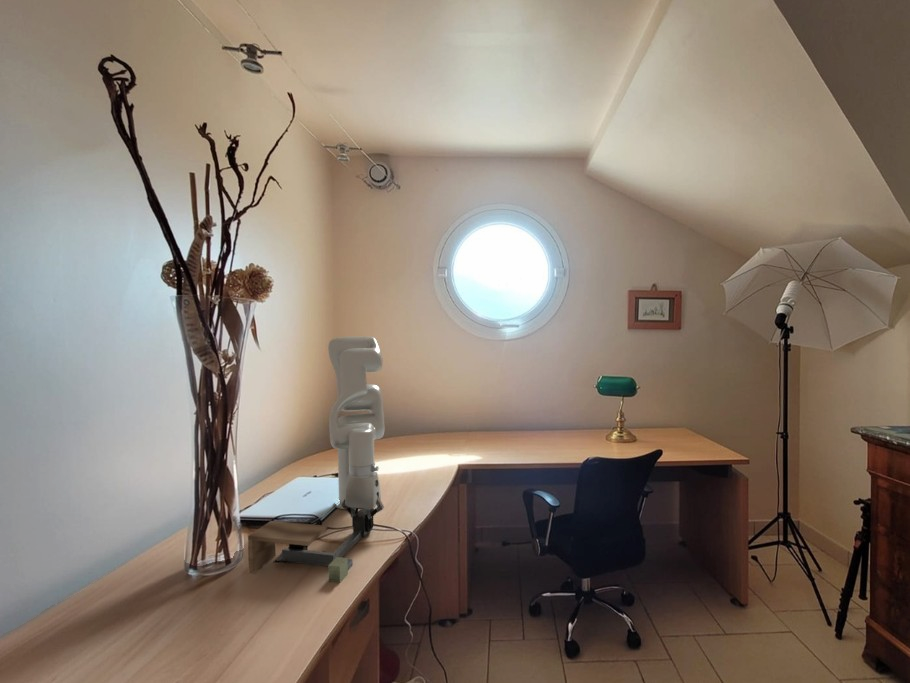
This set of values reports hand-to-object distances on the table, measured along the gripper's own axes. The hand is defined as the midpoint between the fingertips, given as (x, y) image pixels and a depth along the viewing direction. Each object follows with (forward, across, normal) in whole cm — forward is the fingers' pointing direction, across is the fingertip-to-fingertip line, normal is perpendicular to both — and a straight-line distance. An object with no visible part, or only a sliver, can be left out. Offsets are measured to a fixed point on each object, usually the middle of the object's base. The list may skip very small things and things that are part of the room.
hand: (363, 529), depth 129 cm
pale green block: (+1, -5, +22) cm, 22 cm away
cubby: (+1, +10, +22) cm, 24 cm away
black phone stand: (+2, +11, +17) cm, 20 cm away
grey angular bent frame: (+1, +6, +8) cm, 10 cm away
